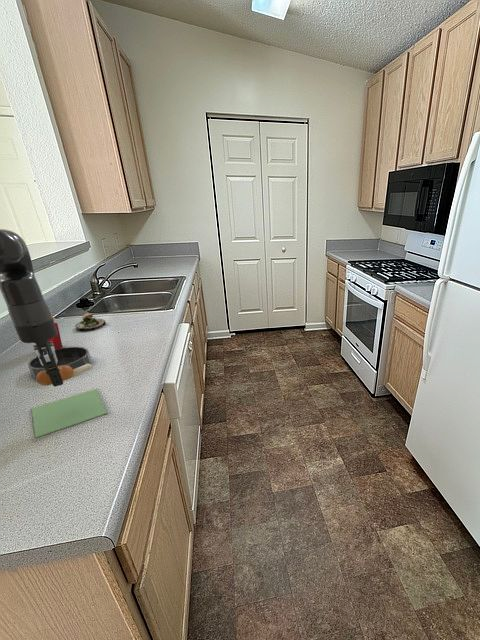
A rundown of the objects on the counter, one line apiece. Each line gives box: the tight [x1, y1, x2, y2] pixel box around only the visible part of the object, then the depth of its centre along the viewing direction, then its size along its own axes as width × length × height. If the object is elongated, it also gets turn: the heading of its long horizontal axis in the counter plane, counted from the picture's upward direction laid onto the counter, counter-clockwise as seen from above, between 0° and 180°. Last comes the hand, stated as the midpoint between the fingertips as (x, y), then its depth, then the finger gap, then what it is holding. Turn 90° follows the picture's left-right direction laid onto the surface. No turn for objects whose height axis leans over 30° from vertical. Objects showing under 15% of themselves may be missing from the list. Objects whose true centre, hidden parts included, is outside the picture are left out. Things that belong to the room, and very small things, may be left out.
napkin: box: [31, 388, 108, 439], centre depth 91 cm, size 16×16×1 cm
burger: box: [74, 313, 107, 332], centre depth 148 cm, size 12×12×8 cm
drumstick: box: [35, 363, 93, 386], centre depth 87 cm, size 12×4×4 cm, turn 127°
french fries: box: [49, 315, 63, 350], centre depth 124 cm, size 9×8×15 cm
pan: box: [27, 346, 93, 379], centre depth 113 cm, size 17×17×4 cm
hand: (57, 381), depth 87 cm, fingers closed on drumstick, 4 cm apart
